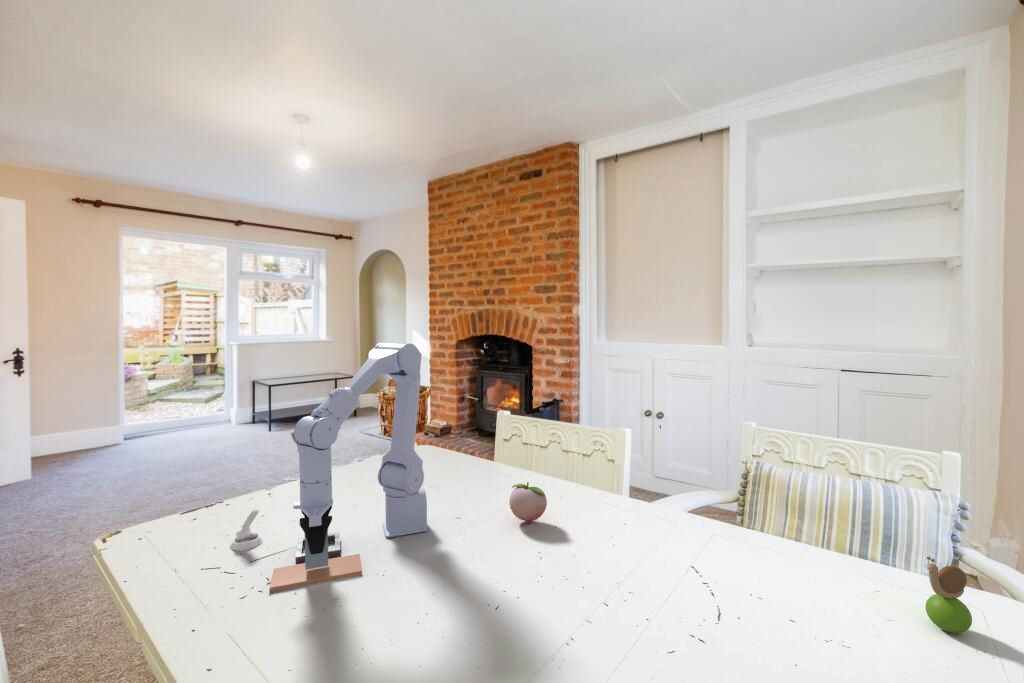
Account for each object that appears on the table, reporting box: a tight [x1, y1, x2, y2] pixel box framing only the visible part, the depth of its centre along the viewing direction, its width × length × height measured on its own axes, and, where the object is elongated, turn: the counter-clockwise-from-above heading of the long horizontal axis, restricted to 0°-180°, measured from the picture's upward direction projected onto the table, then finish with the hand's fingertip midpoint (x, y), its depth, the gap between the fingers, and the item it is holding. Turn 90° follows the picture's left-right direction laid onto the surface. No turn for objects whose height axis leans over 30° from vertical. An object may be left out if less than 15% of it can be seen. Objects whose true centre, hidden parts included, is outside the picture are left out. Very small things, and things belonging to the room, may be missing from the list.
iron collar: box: [295, 532, 341, 565], centre depth 99 cm, size 8×8×2 cm
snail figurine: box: [925, 555, 973, 634], centre depth 74 cm, size 5×6×12 cm
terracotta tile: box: [269, 553, 363, 593], centre depth 91 cm, size 16×7×1 cm, turn 111°
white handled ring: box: [229, 507, 264, 551], centre depth 102 cm, size 6×10×6 cm
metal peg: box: [304, 529, 329, 570], centre depth 90 cm, size 4×4×8 cm
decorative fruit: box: [509, 481, 548, 523], centre depth 113 cm, size 9×8×10 cm
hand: (317, 547), depth 90 cm, fingers closed on metal peg, 4 cm apart
